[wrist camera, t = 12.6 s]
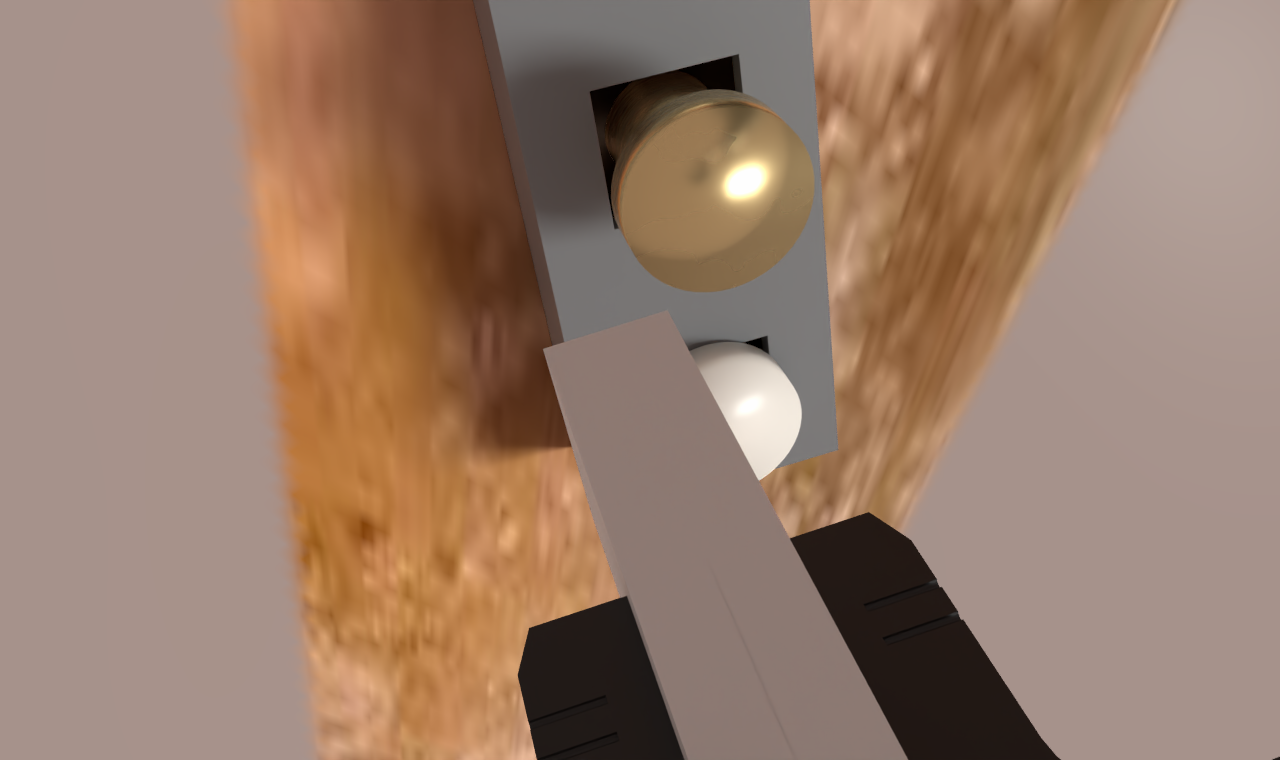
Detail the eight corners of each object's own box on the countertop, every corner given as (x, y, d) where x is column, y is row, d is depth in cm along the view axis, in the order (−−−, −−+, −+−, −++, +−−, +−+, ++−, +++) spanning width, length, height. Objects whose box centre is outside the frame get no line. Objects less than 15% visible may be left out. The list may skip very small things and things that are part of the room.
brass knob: (736, 21, 39) (808, 85, 35) (752, 184, 43) (820, 263, 38) (561, 64, 39) (608, 136, 34) (592, 227, 42) (639, 314, 37)
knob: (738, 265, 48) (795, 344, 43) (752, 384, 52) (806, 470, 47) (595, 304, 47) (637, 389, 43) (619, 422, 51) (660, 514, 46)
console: (721, -425, 36) (782, -424, 32) (792, 383, 53) (838, 449, 49) (389, -361, 34) (410, -352, 30) (575, 447, 52) (603, 520, 48)
